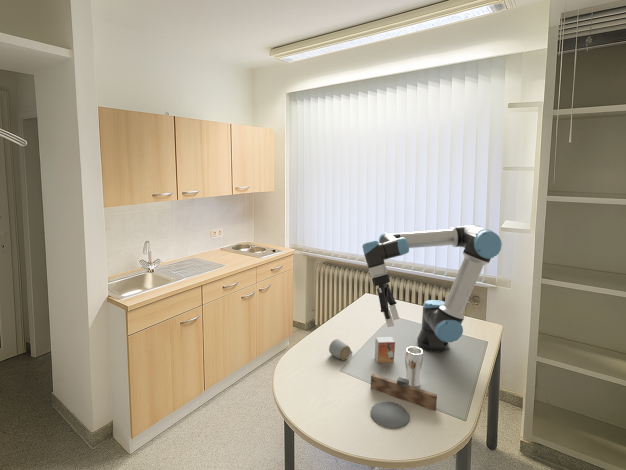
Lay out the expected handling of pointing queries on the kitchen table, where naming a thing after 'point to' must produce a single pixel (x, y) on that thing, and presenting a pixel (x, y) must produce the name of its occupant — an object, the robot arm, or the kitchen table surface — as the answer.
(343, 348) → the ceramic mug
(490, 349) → the kitchen table surface
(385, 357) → the small box
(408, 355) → the beer glass
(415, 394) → the board
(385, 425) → the round pad
